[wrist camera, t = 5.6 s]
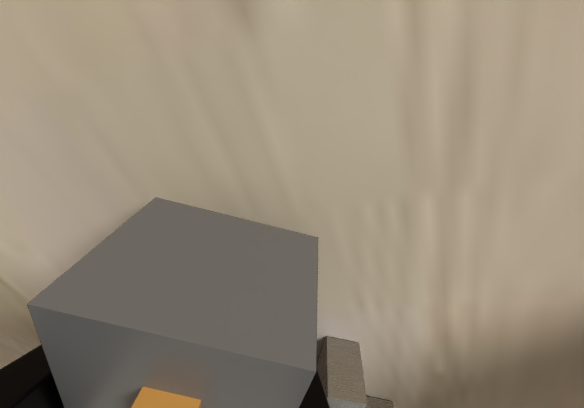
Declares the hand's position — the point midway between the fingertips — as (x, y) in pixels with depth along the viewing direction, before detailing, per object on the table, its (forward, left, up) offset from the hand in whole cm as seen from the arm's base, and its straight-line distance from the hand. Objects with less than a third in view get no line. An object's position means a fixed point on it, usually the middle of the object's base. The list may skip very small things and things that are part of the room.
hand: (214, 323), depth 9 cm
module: (0, 0, -1) cm, 1 cm away
